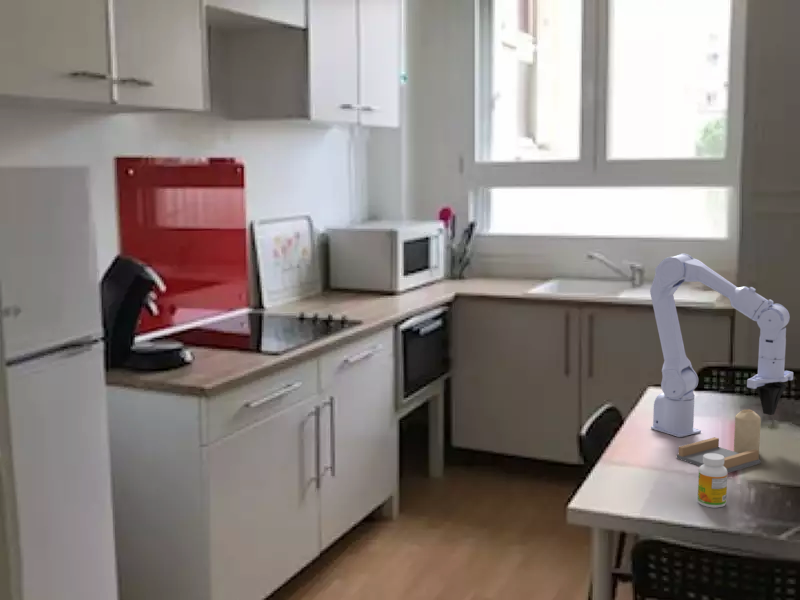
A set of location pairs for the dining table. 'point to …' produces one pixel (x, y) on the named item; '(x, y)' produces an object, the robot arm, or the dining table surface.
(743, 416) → the candle
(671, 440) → the dining table surface
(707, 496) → the supplement bottle
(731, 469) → the tray
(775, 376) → the robot arm
